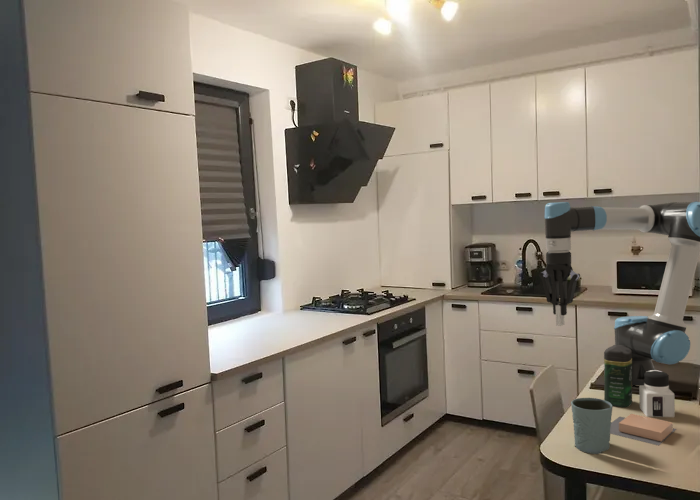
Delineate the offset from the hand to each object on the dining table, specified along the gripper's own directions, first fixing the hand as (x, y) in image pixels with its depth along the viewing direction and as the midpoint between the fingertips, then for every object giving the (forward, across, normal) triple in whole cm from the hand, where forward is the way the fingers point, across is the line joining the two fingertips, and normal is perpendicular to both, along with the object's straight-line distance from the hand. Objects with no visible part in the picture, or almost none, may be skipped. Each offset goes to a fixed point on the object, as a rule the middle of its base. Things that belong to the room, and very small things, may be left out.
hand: (560, 324), depth 184 cm
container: (+27, +25, +10) cm, 38 cm away
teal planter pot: (+27, +20, -24) cm, 41 cm away
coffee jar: (+27, +13, +12) cm, 32 cm away
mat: (+26, +26, -7) cm, 38 cm away
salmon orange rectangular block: (+24, +22, -7) cm, 34 cm away
